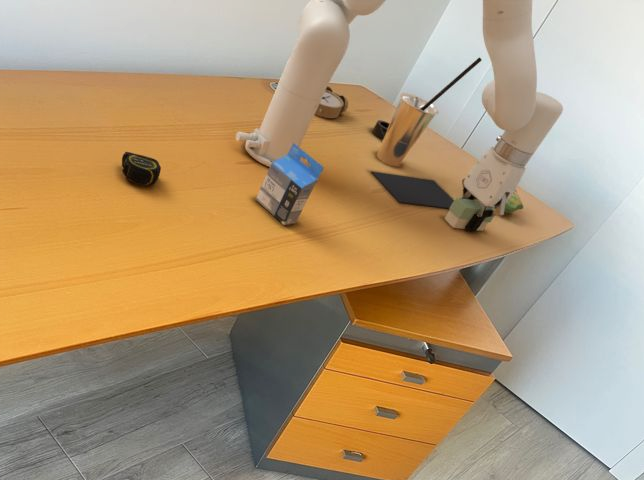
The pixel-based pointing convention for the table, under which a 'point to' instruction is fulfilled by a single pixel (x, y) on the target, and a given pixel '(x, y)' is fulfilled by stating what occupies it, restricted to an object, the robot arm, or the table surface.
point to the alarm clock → (331, 104)
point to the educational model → (513, 203)
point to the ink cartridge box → (289, 185)
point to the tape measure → (140, 168)
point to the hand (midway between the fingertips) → (464, 223)
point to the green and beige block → (465, 213)
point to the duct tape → (380, 129)
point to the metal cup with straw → (410, 123)
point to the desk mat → (415, 190)
